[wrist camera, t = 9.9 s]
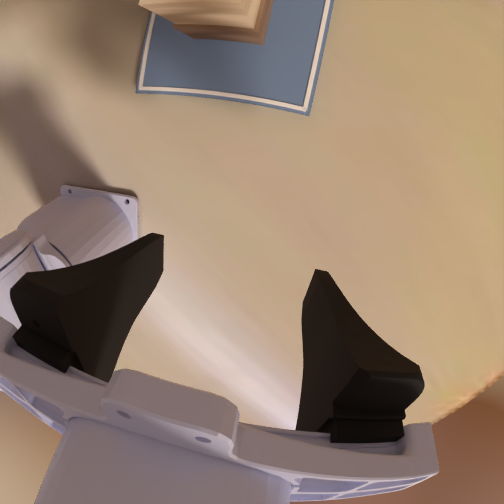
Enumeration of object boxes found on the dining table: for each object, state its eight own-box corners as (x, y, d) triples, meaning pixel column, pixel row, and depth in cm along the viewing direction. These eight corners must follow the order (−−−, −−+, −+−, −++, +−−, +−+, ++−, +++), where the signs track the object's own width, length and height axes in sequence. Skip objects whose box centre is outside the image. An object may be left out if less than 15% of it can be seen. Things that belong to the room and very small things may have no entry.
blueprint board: (141, 92, 18) (106, 95, 14) (175, -50, 11) (150, -73, 7) (308, 115, 18) (314, 119, 14) (339, -37, 11) (351, -66, 7)
